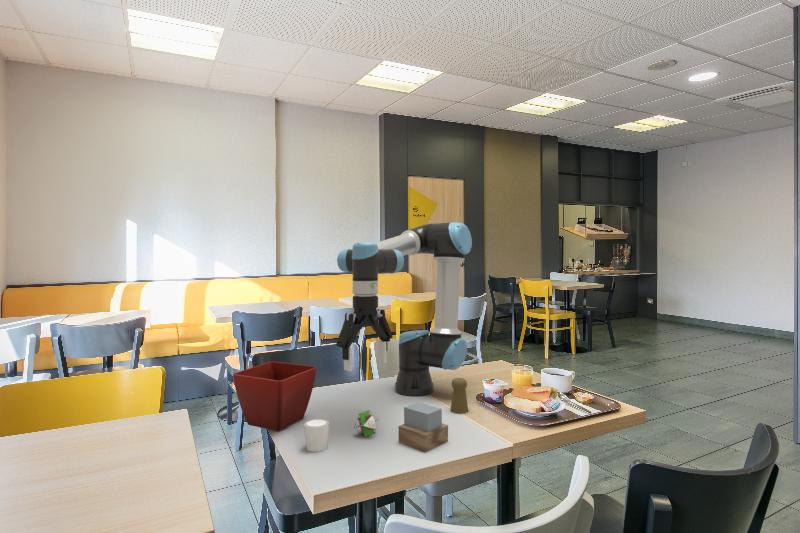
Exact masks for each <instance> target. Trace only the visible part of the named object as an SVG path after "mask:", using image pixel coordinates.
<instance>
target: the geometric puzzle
mask: <svg viewBox="0 0 800 533" xmlns="http://www.w3.org/2000/svg"><path fill="white" fill-rule="evenodd" d="M374 417H375V416H374V414H373V413H372V412H371V411H370V410H366V411H363V412H360V413H358V416H357V418H356V419H357V420H356V421H357V422H358V423H359V425H358V426H356V424H357V423H354V424H355V425H354V427H353V428H354V429H356V430H357V431H358V432H361V435H363V437H364V438H366V437H369V436H370V435H373V434H375V433H376V431H377V427H378V426H377V424H376V421H380V418H377V419H375V418H374ZM358 428H360V429H358Z"/></svg>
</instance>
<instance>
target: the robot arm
mask: <svg viewBox="0 0 800 533" xmlns="http://www.w3.org/2000/svg"><path fill="white" fill-rule="evenodd" d="M472 244H473V240H472V234H471V232H470V230H469V228H468V226H467V225H466V224H464V223H462V222H454V221H452V222H438V223H425V224H422V225H419V226H416V227H412V228H410V229H407V230H404V231H403V232H401V234H400V235H397V236H393V237H390V238H387V239H384V240H380V241H377V242H355V243H353V244H352V249H350V248H348V249H343V250H341V251H340V252H339V253H338V255H337V258H336V259H337V260H336V263H337V266H338V269H339V270H340V271H341V272H343V273H344V272H345V273H349V274H351V273H352V289H351V290H352V295H353V296H352V308H353V313H349V312H345V314H344V322H343V325H342V328H341V330H340V332H339V336H338V338H337V341H336V344H335V346H336V347H338V348H341V350H342V351H341V353H342V357H341V358H342V360H343V370H344V371H347V372H353V348H352V347H351V346H352V344H353V342H354V341H355V339H356V338H357V337H358V336H357V335H358V334H359V332H360V331H361V330H362V329H363V328H367V327H371V328H372V329H373V331H374V332H375V334H376V335H377V337H378V338H379V340H378V342H377V343H378V344H377V345H378V346H377V347H378V350H377V351H378V352H377V353H378V358H377V359H378V360H377V361H378V363H381V364H387V352H388V343H389V342H390V341H391V339H393V337H394V336H393V334H392V331H391V328H390V326H389V325H390V324H389V323H388V320H387V318H386V311H385V309H383V308H382V309H380V308H378V307H379V296H378V295H377V294H378V293H379V274H380V275H382V274H383V275H384V274H391V275H392V274H395V273H399V272H400V271H401V270H403V268H404V265H405V258H404V256H414V255H418V254H425V255H426V254H428V255H433V259H434V260H435V261H436V263H437V264H436V267H437V268H436V286H435V287H436V288H435V306H434V322H433V323H434V326H433V328H432V329H431V330H428V329H417V330H409V331H403V332H401V333H400V334H399V336H398V339H399V340H398V368H399V369H398V373H397V376H396V381H395V383H394V391H395V393H397V394H400V395H403V396H410V397H413V396H414V397H415V396H417V397H418V396H425V395H429V394H432V393H434V390H435V388H434V386H435V384H434V382H433V380H432V375H431V372H430V367H432V368H438V369H443V370H449V371H451V370H452V371H455V370H458V369H459V368H460V367H461V366H462V365H463V363H464V362H465V359H466V356H467V354H468V353H467V352H468V346H467V341H466V340H465V339H464V338H462V332H461V331H460V329H459V328H458V323H459V307H460V306H459V304H460V303H459V302H460V283H461V282H460V280H461V278H460V277H461V264H462V263H463V262H464V261H465V260H466V255H467V254H469V253H470V252H471V249H472V246H473V245H472Z"/></svg>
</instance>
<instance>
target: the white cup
mask: <svg viewBox="0 0 800 533" xmlns="http://www.w3.org/2000/svg"><path fill="white" fill-rule="evenodd" d="M329 426H330V421H328V419H324V418H313V419H309V420H307V421H305V422H304V426H303V427H304V434H305V435H304V436H305V446H306V450H307V451H309V452H313V453H314V452H315V453H316V452H318V453H319V452H323V451H324V450H327V448H328V440H329Z"/></svg>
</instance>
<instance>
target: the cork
mask: <svg viewBox="0 0 800 533" xmlns="http://www.w3.org/2000/svg"><path fill="white" fill-rule="evenodd" d="M451 386H452V389H453V390H452V398H451V403H450V404H451V405H450V412H451V413H453V414H458V415H460V414H461V413H464V414H466V412H467V413H469V406H468V398H467V390H466V388H468V382H467V380H466V379H465V378H464V377H463V378H462V377H456V378H455V377H454V378H453V379H452V380H451ZM461 415H462V414H461Z"/></svg>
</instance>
